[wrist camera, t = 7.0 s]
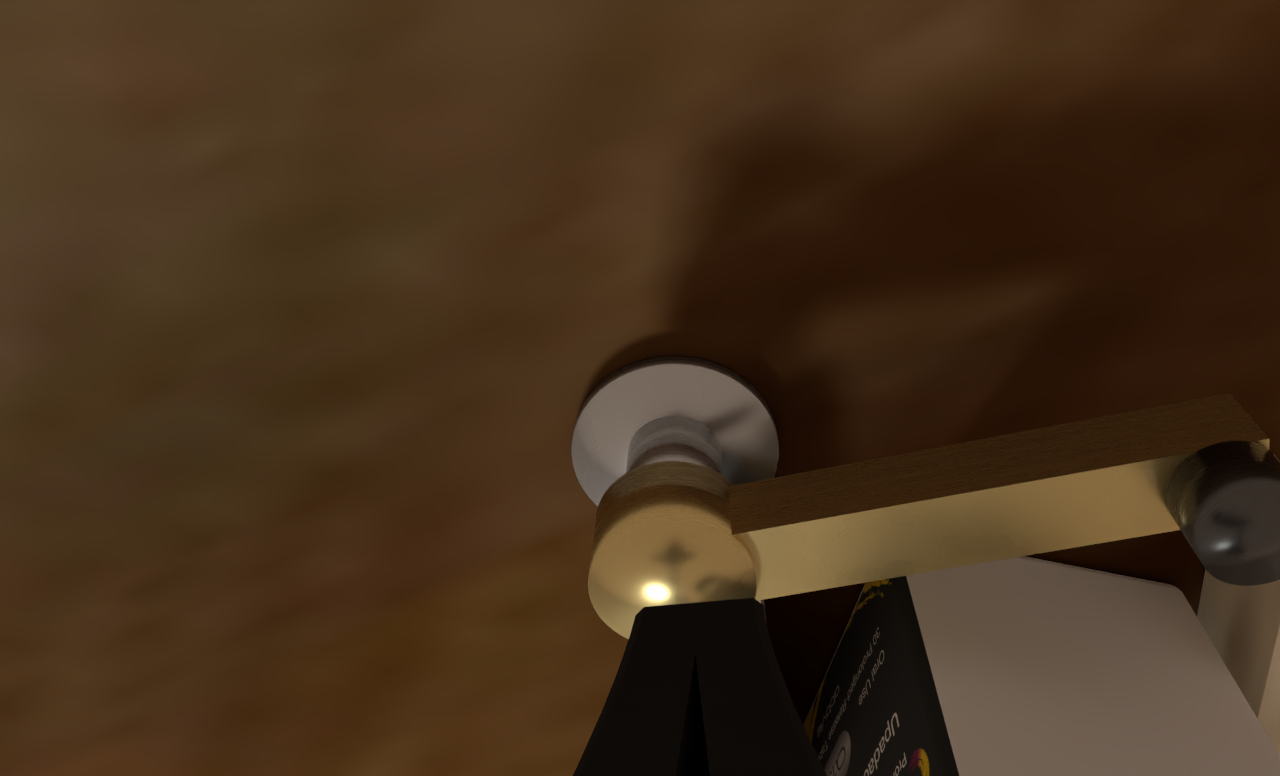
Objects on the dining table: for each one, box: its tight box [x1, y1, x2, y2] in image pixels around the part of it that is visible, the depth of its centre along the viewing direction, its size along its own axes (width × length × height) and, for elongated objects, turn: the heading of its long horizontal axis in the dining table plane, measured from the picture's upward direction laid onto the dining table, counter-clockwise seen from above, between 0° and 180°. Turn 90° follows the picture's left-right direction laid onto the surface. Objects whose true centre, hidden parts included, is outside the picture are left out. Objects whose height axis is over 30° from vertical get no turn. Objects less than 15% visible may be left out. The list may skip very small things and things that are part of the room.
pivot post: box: [572, 356, 779, 506], centre depth 21 cm, size 4×4×2 cm
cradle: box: [758, 455, 1280, 756], centre depth 24 cm, size 11×12×3 cm
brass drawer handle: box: [588, 392, 1280, 639], centre depth 18 cm, size 12×3×3 cm, turn 105°
